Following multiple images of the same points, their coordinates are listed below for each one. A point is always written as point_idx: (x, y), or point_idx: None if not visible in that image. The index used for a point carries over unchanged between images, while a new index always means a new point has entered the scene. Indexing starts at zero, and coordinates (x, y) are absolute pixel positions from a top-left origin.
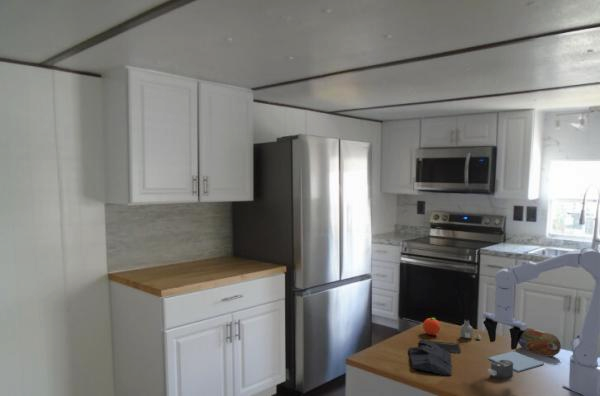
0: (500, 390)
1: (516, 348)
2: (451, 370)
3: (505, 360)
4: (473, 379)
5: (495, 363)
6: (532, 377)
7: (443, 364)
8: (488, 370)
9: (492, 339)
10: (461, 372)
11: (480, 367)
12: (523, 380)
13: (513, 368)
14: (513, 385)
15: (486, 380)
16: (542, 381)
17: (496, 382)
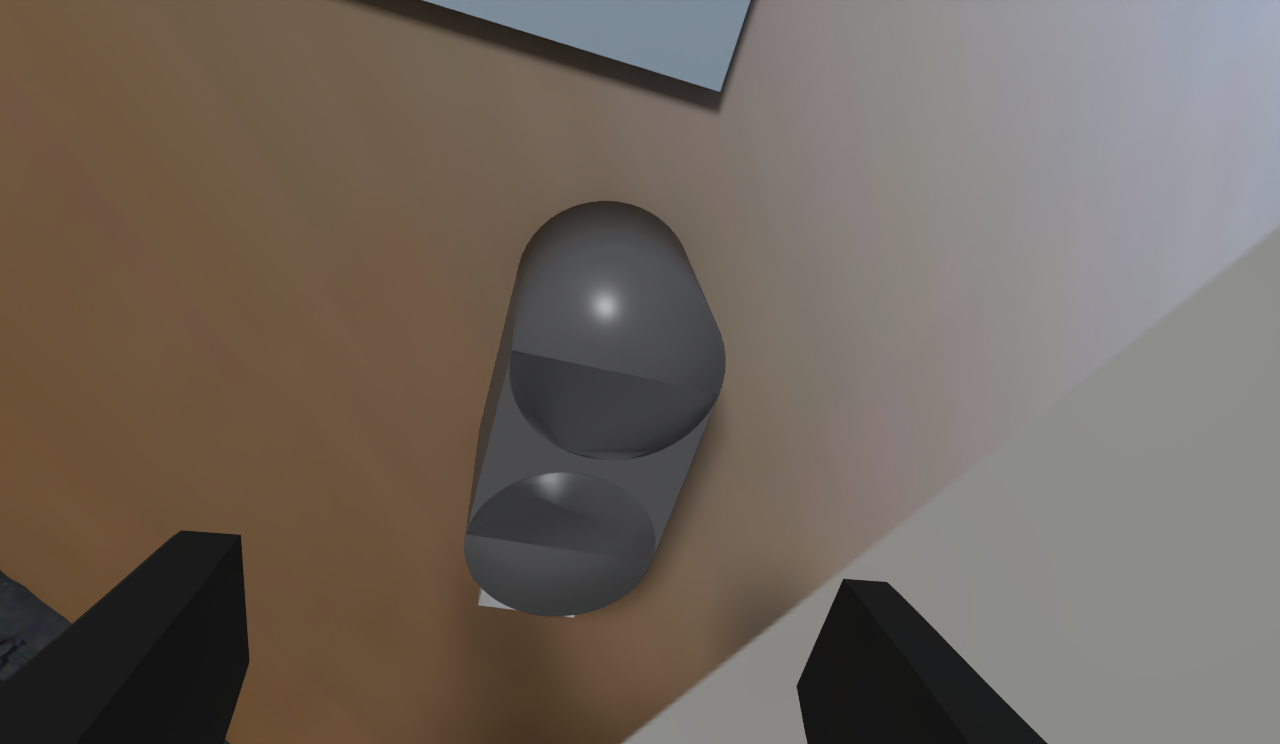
0: (714, 670)
1: (893, 596)
2: None
3: (573, 318)
4: (425, 671)
5: (519, 542)
6: (928, 114)
7: None
8: (494, 599)
9: (218, 699)
10: None
11: (256, 360)
12: (841, 311)
13: (631, 58)
14: (779, 510)
15: None
16: (1060, 144)
17: None
